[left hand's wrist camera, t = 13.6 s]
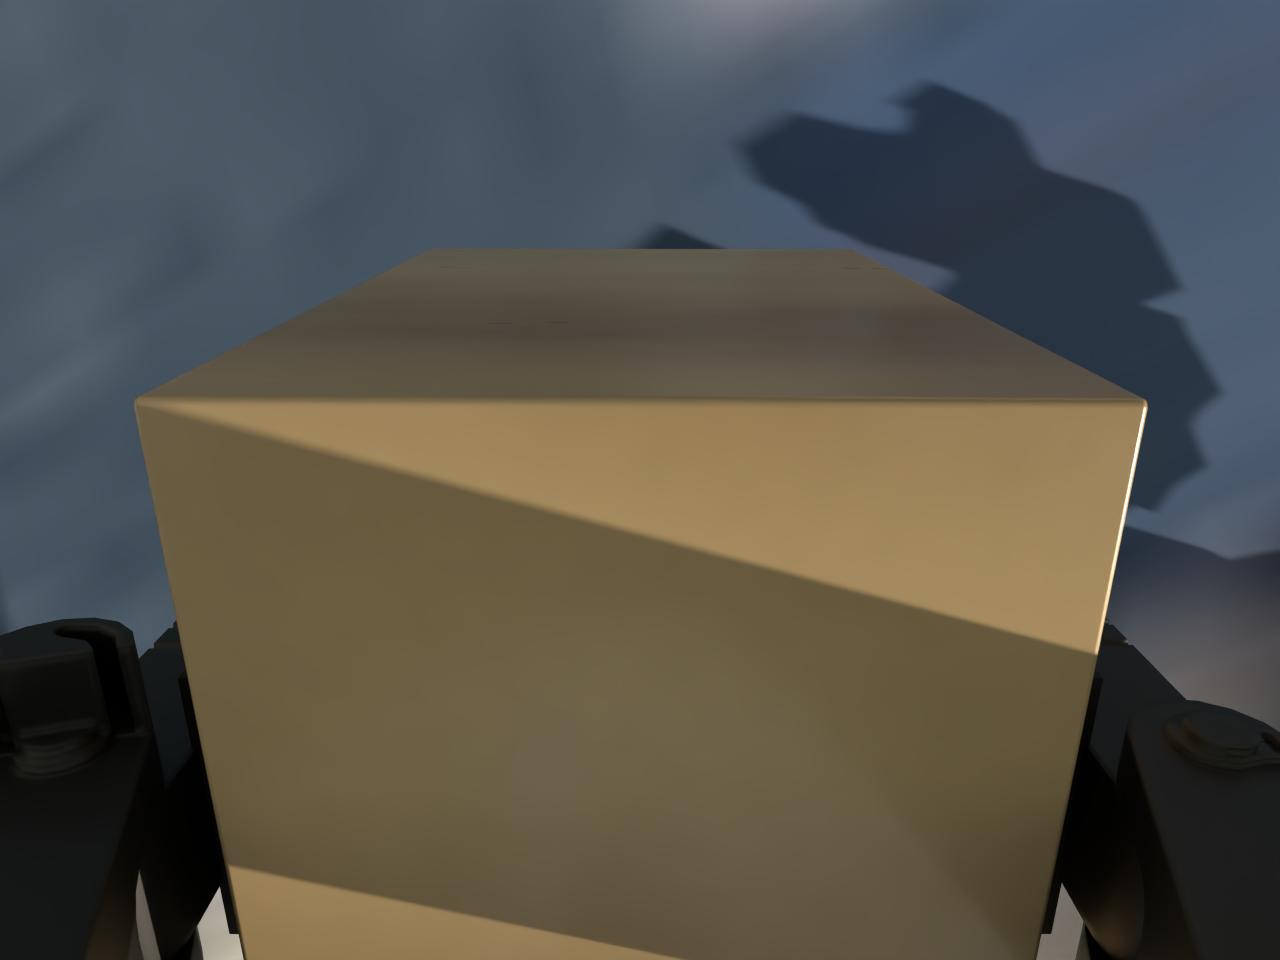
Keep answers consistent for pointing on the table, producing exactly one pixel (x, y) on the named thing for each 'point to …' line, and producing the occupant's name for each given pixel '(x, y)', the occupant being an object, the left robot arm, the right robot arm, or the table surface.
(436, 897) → the ash beam
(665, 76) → the table surface
